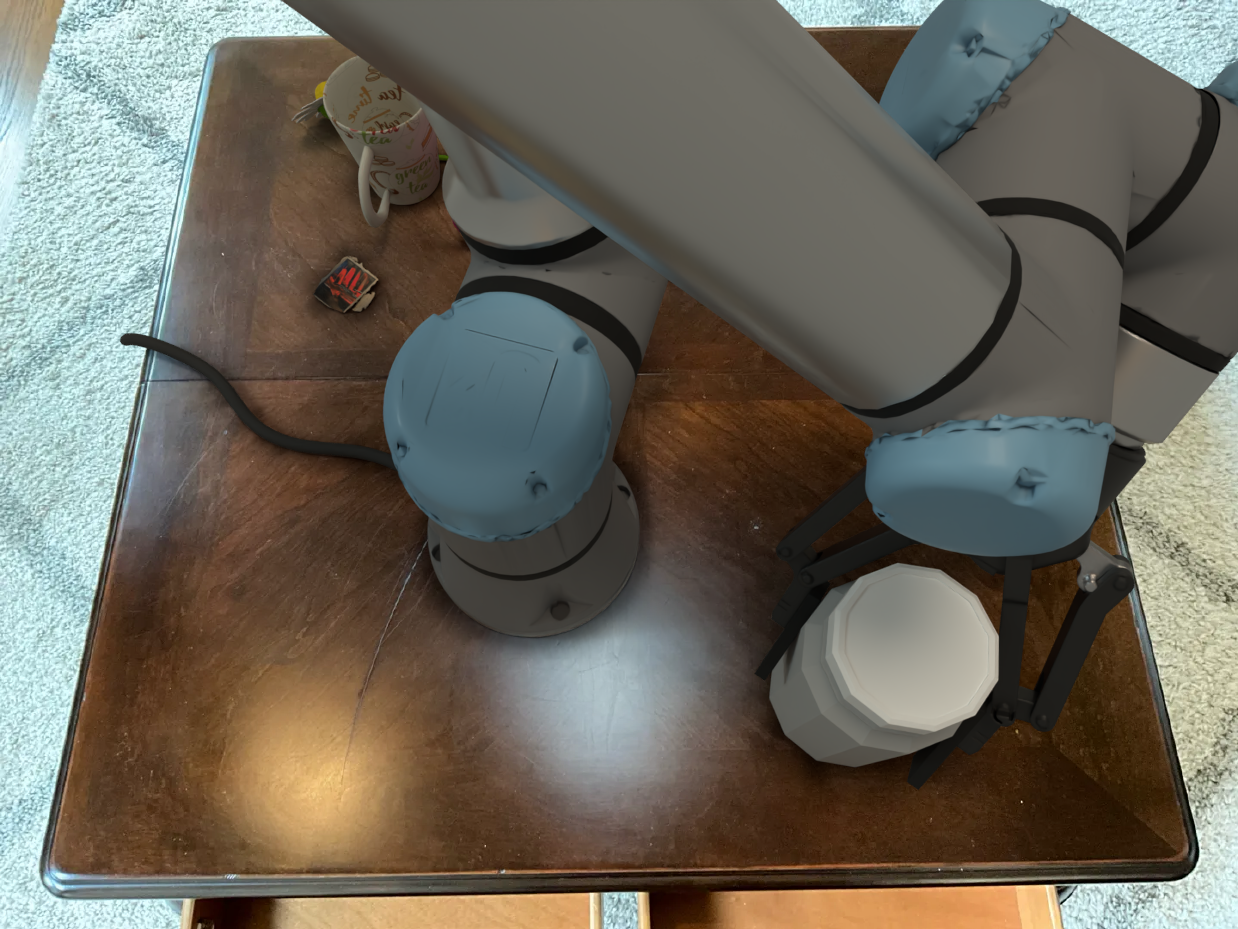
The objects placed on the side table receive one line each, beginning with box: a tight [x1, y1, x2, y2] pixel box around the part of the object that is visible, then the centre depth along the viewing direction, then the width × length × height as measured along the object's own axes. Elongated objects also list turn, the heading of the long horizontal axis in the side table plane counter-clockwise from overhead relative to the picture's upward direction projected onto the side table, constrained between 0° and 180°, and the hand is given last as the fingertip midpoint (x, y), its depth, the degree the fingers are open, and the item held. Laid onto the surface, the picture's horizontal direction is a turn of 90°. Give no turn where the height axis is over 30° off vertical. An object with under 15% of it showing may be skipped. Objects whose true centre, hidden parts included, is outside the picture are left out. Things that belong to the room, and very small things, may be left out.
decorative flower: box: [291, 80, 449, 162], centre depth 77 cm, size 8×6×15 cm
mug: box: [323, 55, 441, 229], centre depth 72 cm, size 8×13×10 cm, turn 175°
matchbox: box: [312, 254, 379, 313], centre depth 73 cm, size 5×5×1 cm
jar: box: [768, 562, 999, 768], centre depth 52 cm, size 10×10×18 cm
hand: (839, 718), depth 52 cm, fingers closed on jar, 10 cm apart
